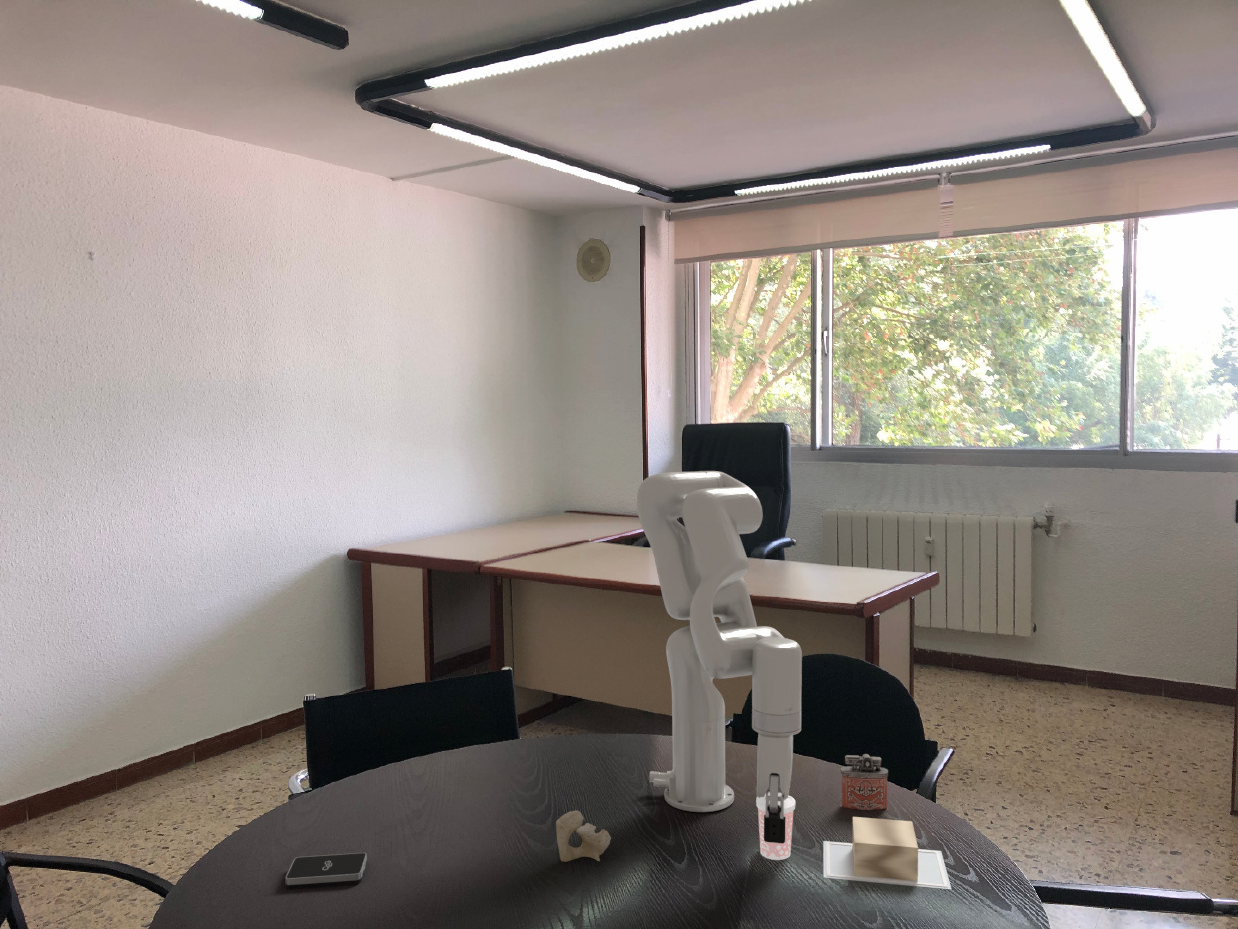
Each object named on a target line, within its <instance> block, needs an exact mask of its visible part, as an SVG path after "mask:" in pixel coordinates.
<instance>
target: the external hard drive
mask: <svg viewBox="0 0 1238 929" xmlns="http://www.w3.org/2000/svg"><path fill="white" fill-rule="evenodd" d="M367 857H368V856H367V852H352V853H338V854H325V855H322V854H321V855H310V856H309V855H308V856H307V855H306V856H297V857H295V858H294V859H293V861H292V863H291V865H290V867H289V869H288V871H287V873H286V876H285V888H286V889H287V890H295V889H297V890H298V889H311V888H322V887H323V888H325V887H335V886H336V887H338V886H339V887H340V886H350V885H351V886H353V885H359V884H360V883H361V882H362V878H363V876H364V874H365V869H366V865H367V862H368V858H367Z"/></svg>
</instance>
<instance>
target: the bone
mask: <svg viewBox="0 0 1238 929" xmlns="http://www.w3.org/2000/svg"><path fill="white" fill-rule="evenodd" d="M584 819H585V818H584V816H583V814H582V813H581V811H579V810H578V809H577V810H572V811H571V810H570V811H568V812H566V813H564V814H563V815H561V816H560V817H559V818H558V819H557V820H556V821H555V828H556V830H555V832H556V841H557V847H558V853H559V854H558V855H559V860H560V861H561V863H563V862H565V863H566V862H570V861H573V860H576V859H580V858H583V857H587V858H592V859H594V860H596V861H597V862H600V861H601V858H600V856H601V855H604V853H605V850H607V848H608V847H609V846H610V843H611V839H612V837H611V835H610V833H609V831H607V830H606V829H604V828H603V829H601V830H600V831H599V832H596V829H597V826H596V825H593V824H591V823H589V822H586V823H585V824H584V825H582V824H583V822H584ZM574 832H576V834H577V835H579V837H580V839H581V840H582V841H581V845H580V846H578V847H573V846H571V845H570V843H569V839H570V837H571V835H572V834H573V833H574Z"/></svg>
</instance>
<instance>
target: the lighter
mask: <svg viewBox="0 0 1238 929" xmlns="http://www.w3.org/2000/svg"><path fill="white" fill-rule="evenodd" d="M844 764H846V765H847V766H842V767H841V768H840V775H841V804H840V808H844V809H850V810H859V811H860V810H864V811H866V810H867V811H878V810H879V811H888V810H889V808H888V777H889V769H888V768H885V767H881V765H882V758H881V757H880V756H870V755H869V754H868V753H864V754H862V756H859V755H849V754H847V755H845V756H844ZM848 765H851V766H848Z"/></svg>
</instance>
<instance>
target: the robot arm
mask: <svg viewBox="0 0 1238 929" xmlns="http://www.w3.org/2000/svg"><path fill="white" fill-rule="evenodd" d="M636 494H637V495H636V508H637V509H636V511H637V516H638V519H639V522H640V523H639V524H640V526H641V528H642V531H643V532H644V534H645V537H646V539H647V541H648V543H649V545H650V548H651V550H652V553H653V557H654V564H655V567H656V568H655V569H656V572H657V573H656V574H657V577H658V582H659V587H660V591H661V596H662V599H663V600H662V601H663V603H664V607H665V611H666V612H667V614H668V615H669V616H670V617H671V618H673V619H675V620H679V621H680V620H682V621H687V620H688V621H689V625H688V626H684V627H681V628H678V629H677V630H675V631H673V632H672V633H671V634H670V636H669V637H668V638H667V642H666V644H665V645H666V646H665V653H666V659H667V664H668V665H667V666H668V670H669V671H668V672H669V676H670V677H669V678H670V684H671V685H670V686H671V687H670V688H671V713H672V714H671V717H672V720H671V722H672V769H671V770H667V771H666V772H660V771H654V770H653V771H649V775H648V776H649V777H648V778H649V780H648V781H649V783H653V787H658V788H661V787H662V788H665V790H664V795H663V796H664V800H665V801H666V803H667V804H669V805H670V806H671V807H673V808H676V809H678V810H682V811H686V812H690V813H691V812H692V813H710V812H717V811H720V810H723V809H726V808H728V807H730V806H731V805H732V804H733V802H734V800H735V792H734V790H733V789H732V788H731V786H729V785H728V784H726V705H725V700H724V698H723V695H722V693H721V692H720V691H719V689H717V687H716V686H715V684H714V682H713V679H717V680H718V679H719V680H720V679H723V680H725V679H731V678H738V677H746V676H752V679H751V680H752V682H751V683H752V684H751V685H752V687H751V688H752V690H751V700H752V701H751V703H752V704H751V706H752V707H751V712H752V713H751V728H752V730H753V731H755V732H756V733H758V735H757V736H758V737H757V750H756V751H757V753H756V754H757V756H756V758H757V760H756V761H757V762H756V763H757V764H756V798H757V797H758V798H761V797H764V796H765V794H766V809H765V815H764V841H765V842H772V843H785V817H784V800H786V799H787V798H788V795H789V796H790V788H791V782H792V781H791V780H792V772H793V758H794V757H793V755H794V735H797V734H799V733H800V732H801V731H802V686H803V684H802V679H803V678H802V672H803V671H802V670H803V669H802V668H803V667H802V666H803V665H802V664H803V663H802V661H803V652H802V648H801V645H800V644H799V643H798V642H797V641H796V640H793V639H789V638H786V637H784V636H783V635H782V633H780V632H779V631H778V630H777V629H776V628H774V627H771V626H767V625H764V626H762V625H759V626H758V624H757V621H756V616H755V613H754V608H753V604H752V600H751V597H750V592H749V589H748V585H747V583H746V580H745V579H744V576H746V574H747V572H748V571H749V569H750V562H749V559H748V557H747V554H746V551H745V548H744V545H743V542H742V539H741V536H740V535H745V534H752V533H755V532H756V531H758V529H759V528H760V527H761V524H762V521H763V518H764V516H763V506H762V504H761V501H760V499H759V497H758V496H757V494H756V493H755V491H754V490H752V489H751V488H750V487H749V486H748V485H746V484H745V483H743V482H741V481H740V480H738V479H737V478H734V477H733V476H731V475H729V474H727V473H725V472H723V471H719V470H718V471H716V470H699V471H671V472H661V473H655V474H652V475H650V476H648V477H646V478H645V479H644V480H642V481H641V483H640V484H639V487H638V489H637V493H636ZM678 518H682V521H683V524H684V525H683V524H682V523H680V522H679V520H678ZM715 618H719V620H720V622H717V621H716V619H715ZM769 793H770V796H769ZM778 793H782V797H778ZM769 800H770V803H769ZM778 801H780V805H778Z"/></svg>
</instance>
